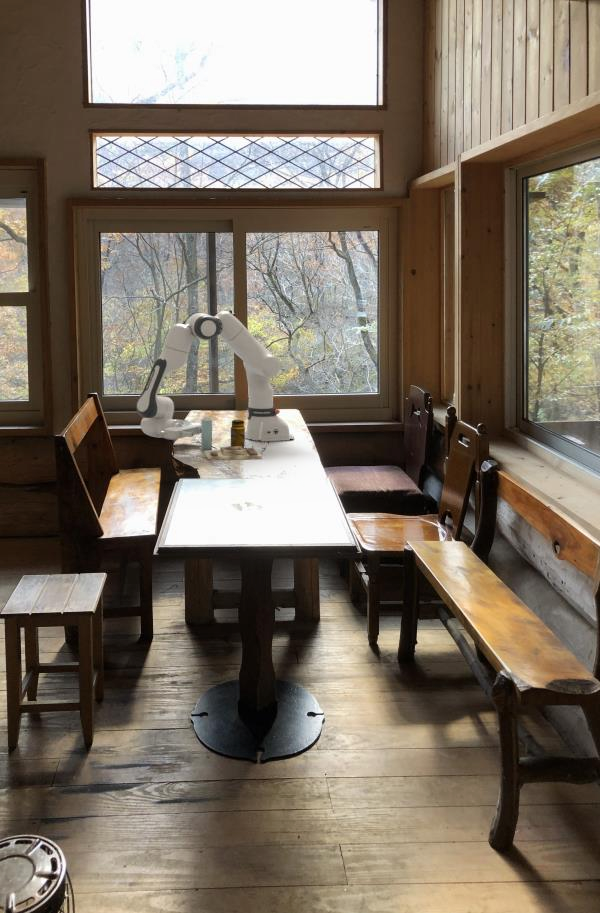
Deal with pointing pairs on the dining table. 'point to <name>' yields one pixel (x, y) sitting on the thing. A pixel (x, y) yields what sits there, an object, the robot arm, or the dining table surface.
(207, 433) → the roll-on deodorant
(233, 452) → the jig
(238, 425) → the condiment
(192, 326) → the robot arm
